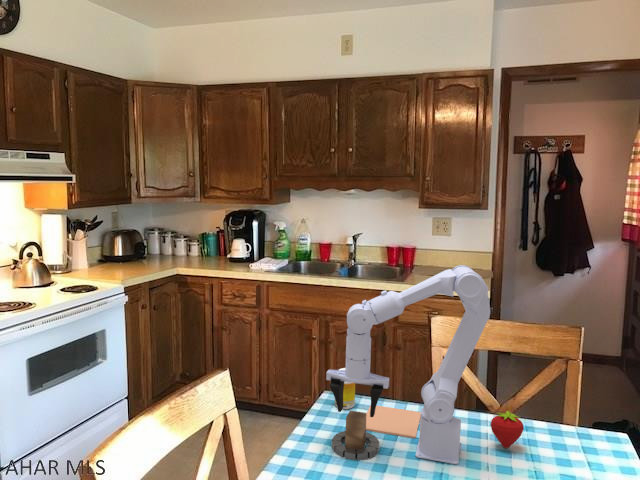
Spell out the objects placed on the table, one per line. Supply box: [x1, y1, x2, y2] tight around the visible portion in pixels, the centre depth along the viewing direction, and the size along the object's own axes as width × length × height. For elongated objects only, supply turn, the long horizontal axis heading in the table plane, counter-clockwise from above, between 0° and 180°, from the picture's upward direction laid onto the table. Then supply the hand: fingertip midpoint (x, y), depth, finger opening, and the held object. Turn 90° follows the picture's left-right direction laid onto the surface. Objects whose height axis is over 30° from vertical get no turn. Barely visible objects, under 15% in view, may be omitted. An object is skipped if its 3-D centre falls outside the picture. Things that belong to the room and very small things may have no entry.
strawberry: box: [490, 405, 524, 449], centre depth 122 cm, size 6×8×10 cm
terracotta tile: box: [366, 404, 421, 439], centre depth 134 cm, size 14×14×1 cm
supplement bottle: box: [334, 367, 356, 410], centre depth 142 cm, size 6×6×10 cm
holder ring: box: [331, 430, 381, 461], centre depth 121 cm, size 11×11×2 cm
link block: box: [344, 409, 367, 449], centre depth 120 cm, size 4×4×8 cm
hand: (356, 412), depth 120 cm, fingers open, 7 cm apart
